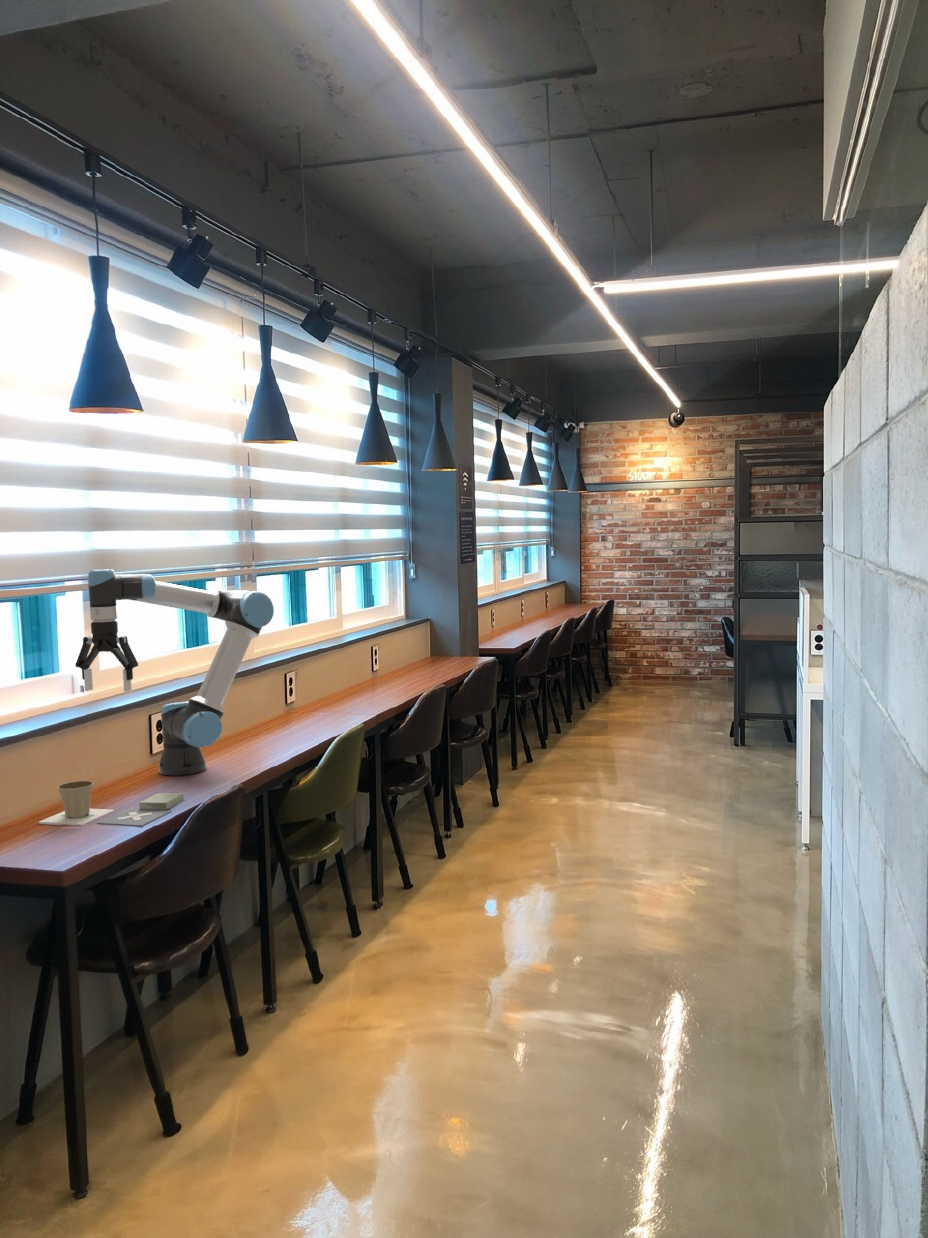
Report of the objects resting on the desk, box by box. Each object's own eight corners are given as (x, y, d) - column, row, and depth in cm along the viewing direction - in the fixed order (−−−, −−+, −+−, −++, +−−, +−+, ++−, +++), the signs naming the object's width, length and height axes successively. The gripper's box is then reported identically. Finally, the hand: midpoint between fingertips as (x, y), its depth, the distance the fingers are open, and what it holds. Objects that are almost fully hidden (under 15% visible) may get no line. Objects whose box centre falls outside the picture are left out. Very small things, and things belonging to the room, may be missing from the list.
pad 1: (72, 809, 273) (72, 807, 273) (114, 812, 269) (114, 809, 269) (38, 823, 259) (38, 821, 259) (82, 826, 256) (82, 823, 256)
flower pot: (52, 816, 263) (50, 786, 263) (84, 808, 271) (82, 778, 270) (70, 822, 258) (68, 790, 257) (102, 813, 265) (100, 783, 264)
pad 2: (128, 810, 270) (128, 807, 270) (171, 812, 267) (171, 810, 266) (97, 825, 257) (96, 822, 257) (142, 827, 253) (142, 824, 253)
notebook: (157, 800, 280) (156, 793, 280) (183, 800, 280) (183, 793, 280) (139, 809, 268) (139, 802, 268) (166, 809, 268) (166, 802, 268)
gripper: (60, 622, 285) (64, 692, 287) (132, 621, 279) (136, 693, 280) (76, 619, 293) (81, 688, 294) (147, 619, 286) (151, 689, 288)
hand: (108, 690), depth 287 cm, fingers open, 13 cm apart
